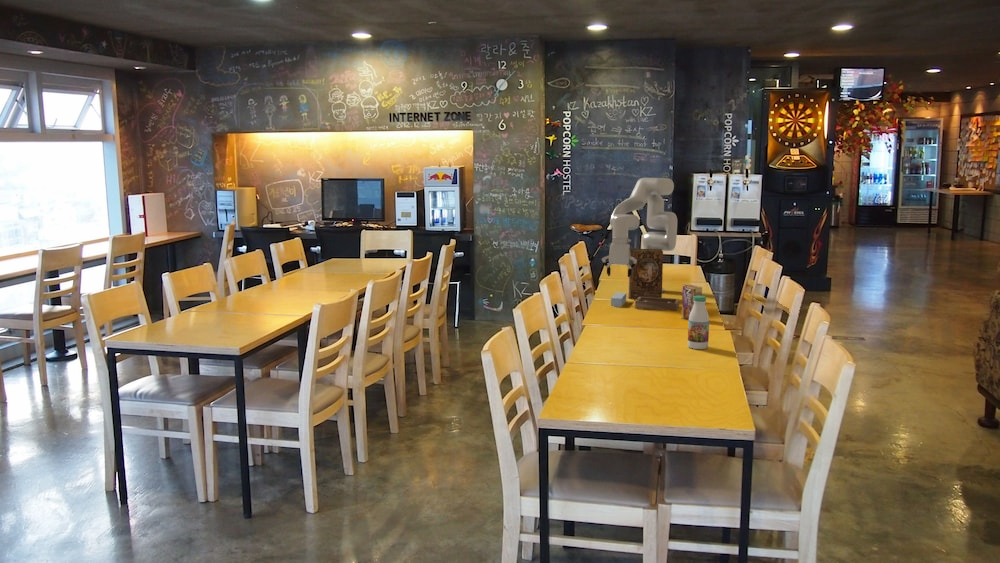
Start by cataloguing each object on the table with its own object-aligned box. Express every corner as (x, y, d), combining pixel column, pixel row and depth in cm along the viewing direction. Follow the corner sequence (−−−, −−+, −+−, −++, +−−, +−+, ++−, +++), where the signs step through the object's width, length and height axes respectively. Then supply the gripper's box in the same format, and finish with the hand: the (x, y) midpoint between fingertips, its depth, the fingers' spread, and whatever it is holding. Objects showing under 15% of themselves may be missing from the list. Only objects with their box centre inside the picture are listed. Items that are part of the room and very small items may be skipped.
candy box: (701, 321, 351) (703, 287, 348) (693, 322, 349) (695, 287, 346) (688, 317, 359) (689, 283, 356) (680, 318, 357) (682, 284, 354)
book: (628, 299, 401) (630, 250, 397) (628, 297, 406) (629, 248, 402) (661, 299, 399) (663, 250, 395) (660, 297, 405) (662, 249, 401)
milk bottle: (684, 345, 309) (686, 294, 305) (704, 344, 309) (706, 294, 306) (691, 350, 301) (693, 298, 298) (711, 349, 302) (713, 298, 298)
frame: (638, 303, 389) (638, 296, 389) (678, 305, 384) (679, 298, 383) (635, 308, 378) (635, 301, 377) (676, 311, 372) (676, 303, 371)
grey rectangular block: (616, 301, 397) (616, 292, 396) (626, 301, 395) (626, 293, 395) (610, 307, 383) (611, 298, 382) (621, 307, 381) (621, 298, 381)
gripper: (639, 241, 385) (637, 276, 387) (603, 239, 390) (602, 274, 393) (636, 242, 378) (635, 278, 380) (600, 241, 383) (599, 276, 385)
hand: (618, 276), depth 386 cm, fingers open, 9 cm apart
